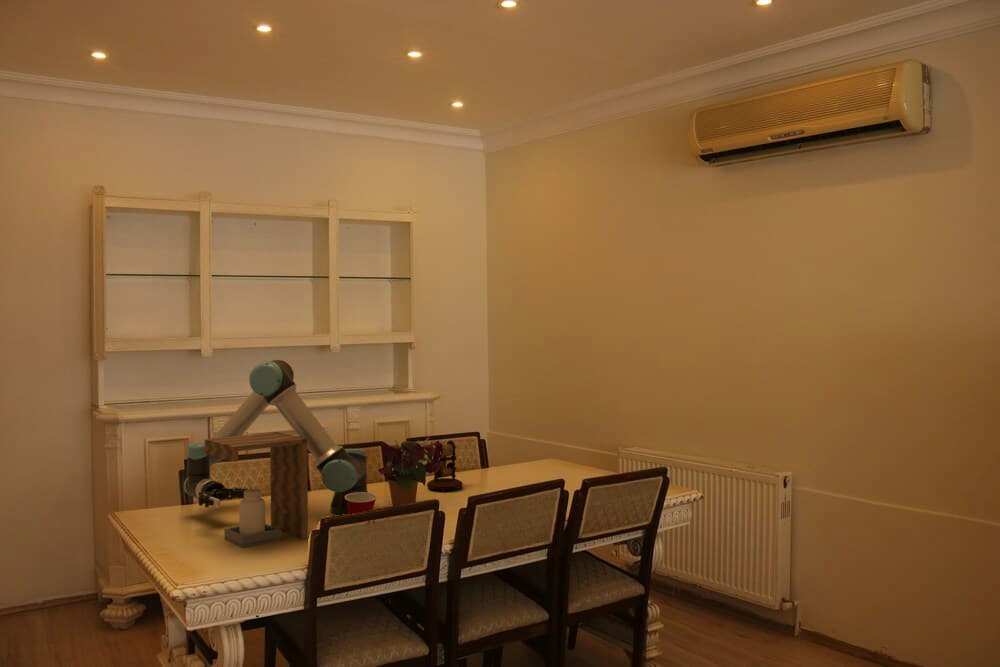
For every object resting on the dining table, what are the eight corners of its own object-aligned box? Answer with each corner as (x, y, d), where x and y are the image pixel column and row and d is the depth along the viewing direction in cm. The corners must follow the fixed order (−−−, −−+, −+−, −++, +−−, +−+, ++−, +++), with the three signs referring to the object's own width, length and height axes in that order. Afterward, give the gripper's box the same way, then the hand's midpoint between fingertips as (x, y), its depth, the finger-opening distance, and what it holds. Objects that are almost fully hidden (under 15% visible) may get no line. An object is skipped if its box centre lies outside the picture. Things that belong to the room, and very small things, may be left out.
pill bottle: (270, 534, 277) (269, 488, 277) (255, 541, 270) (255, 493, 269) (249, 532, 280) (249, 487, 280) (234, 538, 272) (233, 492, 272)
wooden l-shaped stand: (205, 539, 275) (204, 439, 274) (276, 526, 292) (275, 432, 291) (235, 553, 260) (234, 446, 259) (307, 538, 277) (307, 438, 276)
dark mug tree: (447, 484, 365) (447, 437, 365) (469, 489, 354) (469, 441, 354) (419, 488, 355) (419, 441, 355) (442, 494, 344) (441, 445, 344)
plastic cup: (350, 536, 279) (350, 500, 278) (340, 529, 288) (340, 494, 288) (381, 532, 284) (381, 496, 283) (371, 525, 293) (371, 490, 293)
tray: (224, 539, 275) (224, 528, 275) (261, 532, 284) (261, 522, 284) (243, 547, 266) (242, 536, 266) (280, 540, 274) (280, 529, 274)
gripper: (244, 496, 306) (273, 506, 290) (175, 507, 289) (202, 518, 273) (244, 476, 306) (273, 484, 290) (175, 485, 289) (202, 495, 273)
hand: (238, 501), depth 282 cm, fingers open, 13 cm apart
